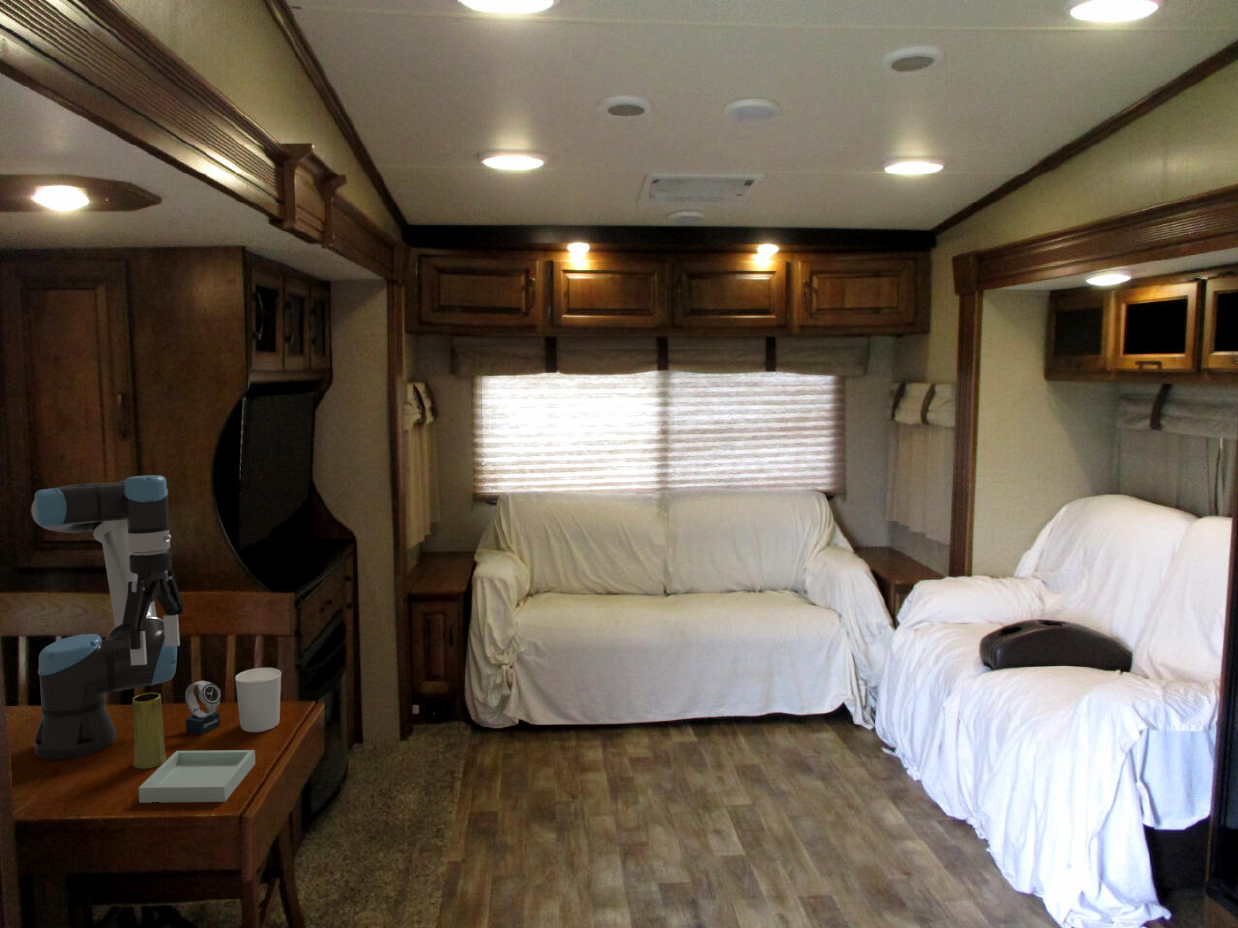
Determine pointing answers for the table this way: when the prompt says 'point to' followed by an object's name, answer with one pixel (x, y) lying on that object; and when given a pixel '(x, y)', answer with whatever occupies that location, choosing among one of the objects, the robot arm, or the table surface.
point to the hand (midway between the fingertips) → (156, 654)
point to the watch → (204, 719)
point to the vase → (148, 731)
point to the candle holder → (259, 698)
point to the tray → (197, 776)
